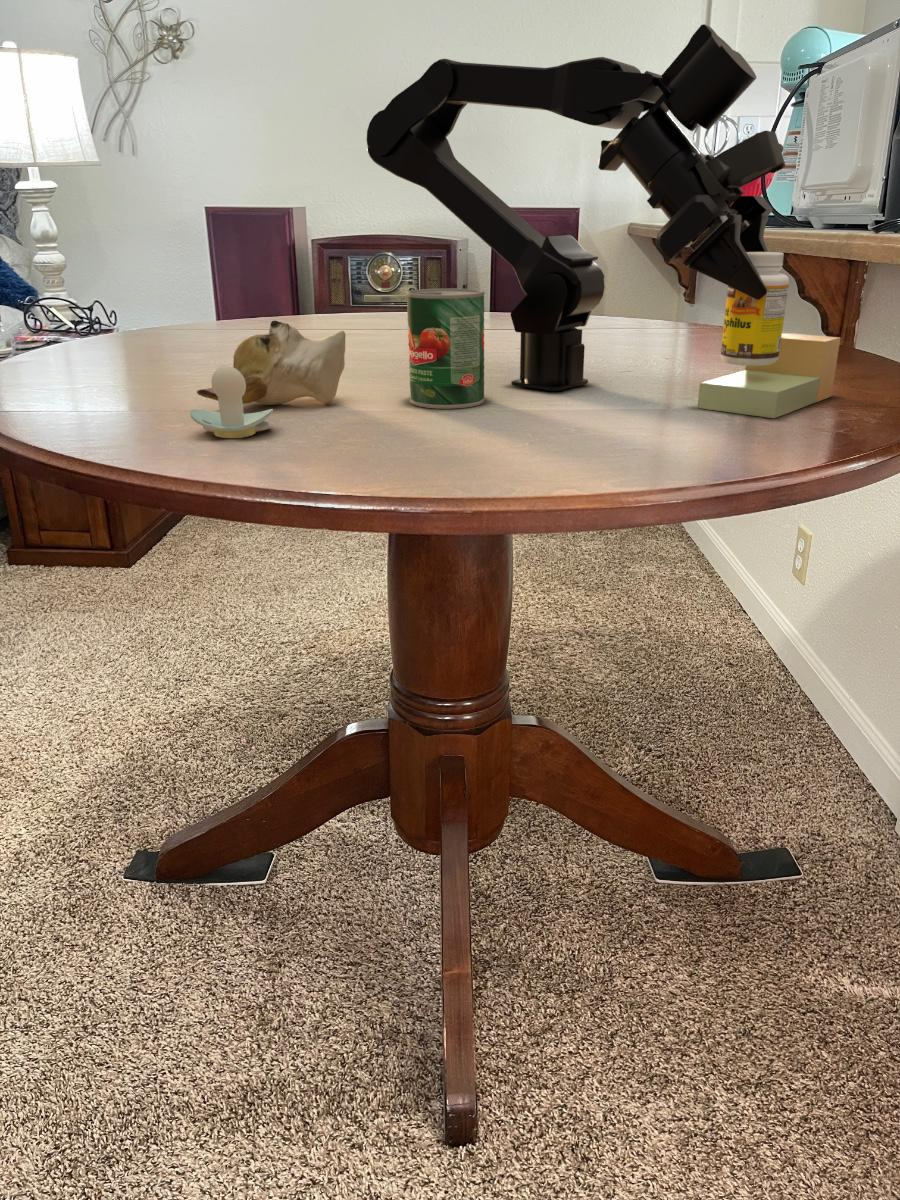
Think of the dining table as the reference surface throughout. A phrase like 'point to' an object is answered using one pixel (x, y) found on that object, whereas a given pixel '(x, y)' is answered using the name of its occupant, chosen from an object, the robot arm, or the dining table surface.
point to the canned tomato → (446, 347)
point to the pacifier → (230, 408)
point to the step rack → (777, 380)
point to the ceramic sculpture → (288, 366)
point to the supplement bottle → (756, 316)
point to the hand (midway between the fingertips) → (771, 293)
